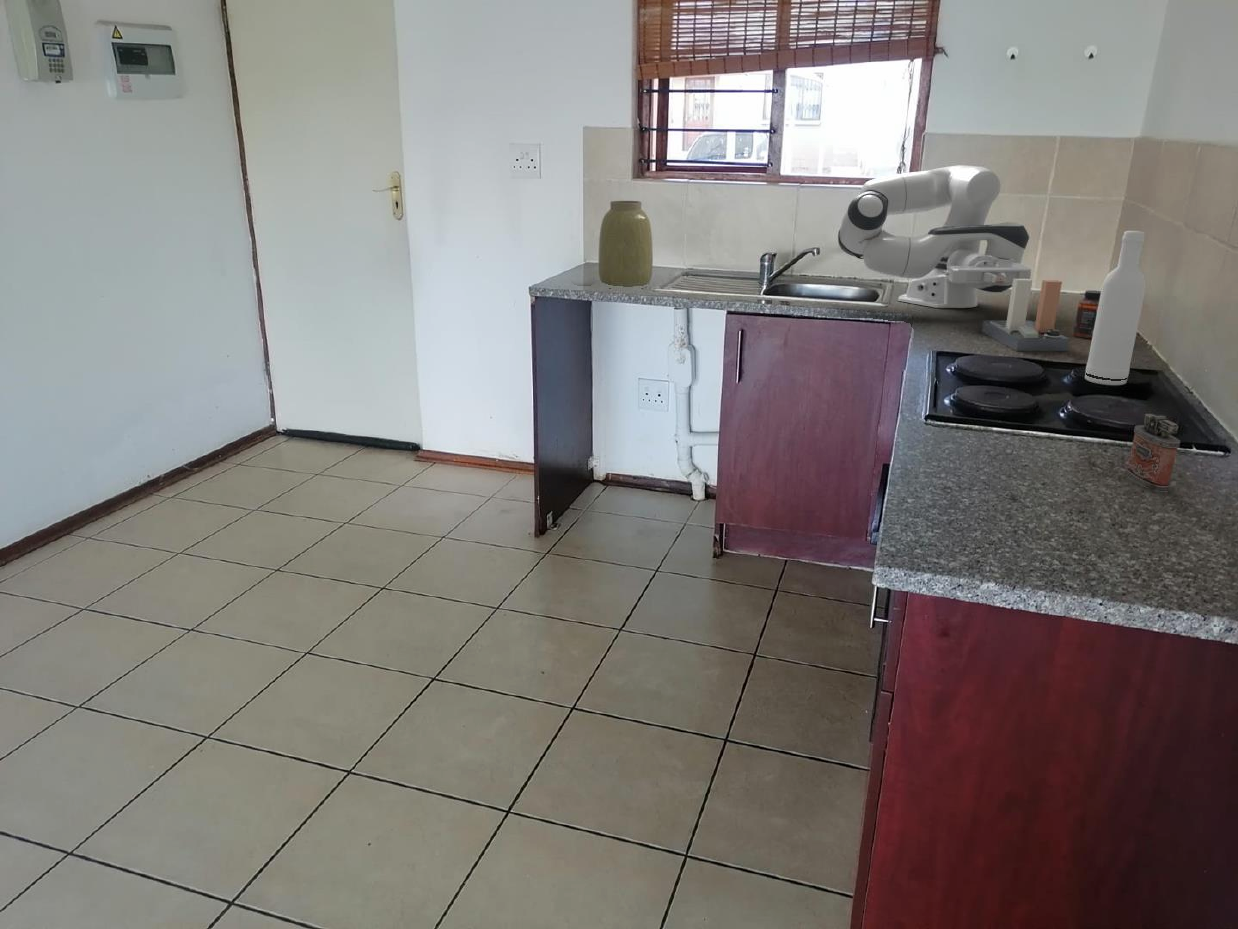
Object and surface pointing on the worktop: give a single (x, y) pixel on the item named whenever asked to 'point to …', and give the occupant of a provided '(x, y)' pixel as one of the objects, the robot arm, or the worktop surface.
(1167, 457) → the lighter
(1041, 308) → the tall salmon pillar
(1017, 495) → the worktop surface
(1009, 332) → the platform
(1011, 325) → the cream rectangular block
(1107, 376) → the bottle
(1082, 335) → the supplement bottle
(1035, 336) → the rocker
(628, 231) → the vase
